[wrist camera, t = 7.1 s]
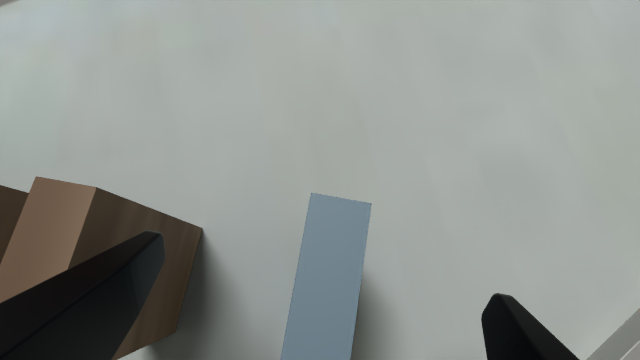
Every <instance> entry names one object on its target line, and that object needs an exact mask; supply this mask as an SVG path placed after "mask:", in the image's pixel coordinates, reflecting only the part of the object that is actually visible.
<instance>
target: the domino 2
mask: <svg viewBox="0 0 640 360" xmlns="http://www.w3.org/2000/svg"><path fill="white" fill-rule="evenodd" d="M371 204H372V203H366V202H360V201H355V200H349V199H343V198H338V197H332V196H326V195H321V194H315V193H311V196H310V201H309V206H308V212H307V217H306V223H305V228H304V234H303V239H302V244H301V250H300V255H299V261H298V266H297V272H296V277H295V283H294V288H293V293H292V299H291V304H290V310H289V315H288V321H287V326H286V331H285V337H284V342H283V348H282V353H281V359H280V360H350V358H351V351H352V344H353V336H354V329H355V322H356V314H357V307H358V300H359V292H360V285H361V278H362V270H363V263H364V255H365V248H366V241H367V233H368V226H369V219H370V211H371Z"/></svg>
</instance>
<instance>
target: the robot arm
mask: <svg viewBox="0 0 640 360" xmlns="http://www.w3.org/2000/svg"><path fill="white" fill-rule="evenodd" d="M165 257H166V254H165V245H164V237H163V234H162V233H160V232H156V231H150V230H147V231H144V232H142V233H140V234H138V235H136V236H134V237H132V238H130V239H128V240H126V241H124V242H122V243H120V244H118V245H116V246H114V247H112V248H110V249H108V250H105V251H103V252H101V253H99V254H97V255H95V256H93V257H91V258H89V259H87V260H85V261H83V262H81V263H79V264H77V265H75V266H73V267H71V268H69V269H67V270H65V271H63V272H61V273H59V274H57V275H55V276H53V277H51V278H49V279H47V280H45V281H43V282H41V283H39V284H37V285H35V286H33V287H31V288H29V289H27V290H25V291H23V292H21V293H19V294H17V295H15V296H13V297H11V298H9V299H7V300H5V301H3V302H1V303H0V360H112V358H113V357H114V355H115V353H116V352H117V350H118V348H119V347H120V345H121V344H122V342H123V340H124V339H125V337H126V336H127V334H128V332H129V331H130V329H131V327H132V326H133V324H134V323H135V321H136V319H137V317H138V316H139V314H140V312H141V310H142V308H143V306H144V304H145V302H146V300H147V298H148V296H149V294H150V291H151V289H152V287H153V285H154V283H155V281H156V279H157V277H158V275H159V273H160V271H161V268H162V266H163V264H164V262H165ZM481 321H482V328H483V334H484V341H485V347H486V354H487V360H579V359H578V358H577V357H576V356H575V355H574V354H573V353H572V352H571V351H570V350H569V349H568V348H567V347H565V346H564V345H563V344H562V343H561V342H560V341H559V340H558V339H557V338H556V337H555V336H554V335H553V334H552V333H551V332H550V331H548V330H547V329H546V328H545V327H544V326H543V325H542V324H541V323H540V322H539V321H538V320H537V319H536V318H535V317H534V316H533V315H531V314H530V313H529V312H528V311H527V310H526V309H525V308H524V307H523V306H522V305H521V304H520V303H519V302H518V301H517V300H516V299H514V298H513V297H512V296H510V295H505V294H499V293H496V294H494V295H493V296H492V297H491V299H490V301H489V302H488V304H487V306H486V308H485V309H484V311H483V313H482V318H481Z"/></svg>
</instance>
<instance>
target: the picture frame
mask: <svg viewBox="0 0 640 360" xmlns="http://www.w3.org/2000/svg"><path fill="white" fill-rule="evenodd" d="M587 360H640V308H639V309H638V310H637V311H636V312H635V313H634V314H633V315H632V316H631V317H630V318H629V319H628V320H627V321H626V322H625V323H624V324H623V325H622V326H621V327H620V328H619V329H618V330H617V331H616V332H615V333H613V334H612V335H611V336H610V337H609V338H608V339H607V340H606V341H605V342H604V343H603V344H602V345H601V346H600V347H599V348H598V349H597V350H596V351H595V352H594V353H593V354H592V355H591V356H590V357H589V358H588V359H587Z"/></svg>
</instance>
